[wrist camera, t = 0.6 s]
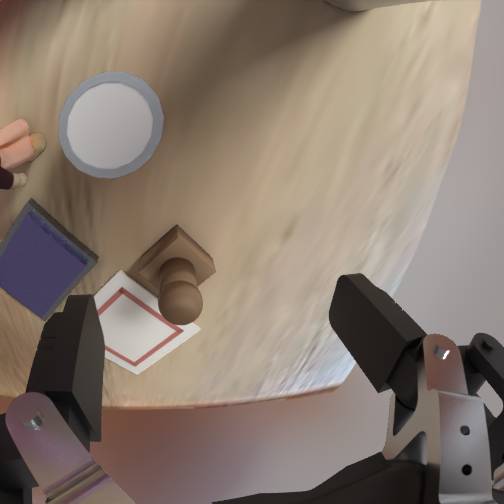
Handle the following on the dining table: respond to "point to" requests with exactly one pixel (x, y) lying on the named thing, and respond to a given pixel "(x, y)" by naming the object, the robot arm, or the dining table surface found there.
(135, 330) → the print card
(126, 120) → the shot glass
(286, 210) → the dining table surface
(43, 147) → the grandmother figurine
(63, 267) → the ink pad
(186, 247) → the stamp
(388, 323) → the robot arm
